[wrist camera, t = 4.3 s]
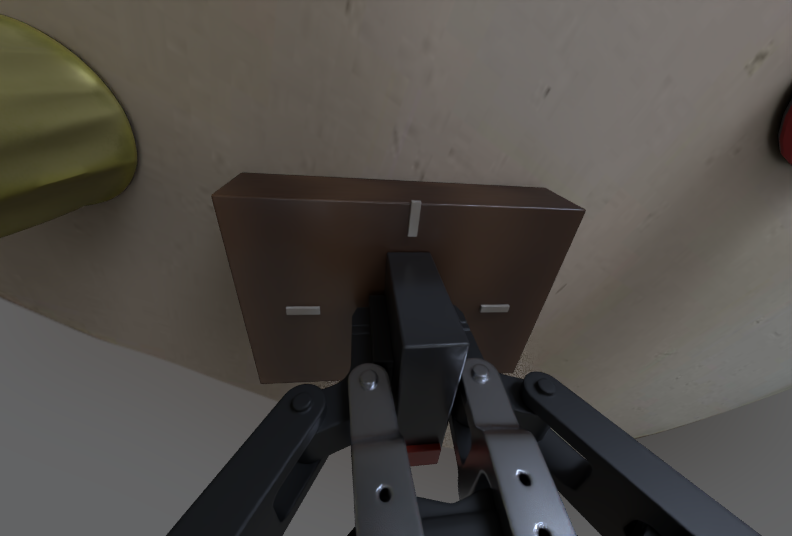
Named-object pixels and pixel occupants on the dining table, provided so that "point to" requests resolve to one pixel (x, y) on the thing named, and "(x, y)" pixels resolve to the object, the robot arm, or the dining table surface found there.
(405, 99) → the dining table surface
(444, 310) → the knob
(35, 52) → the vase
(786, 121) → the beer can
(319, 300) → the panel
